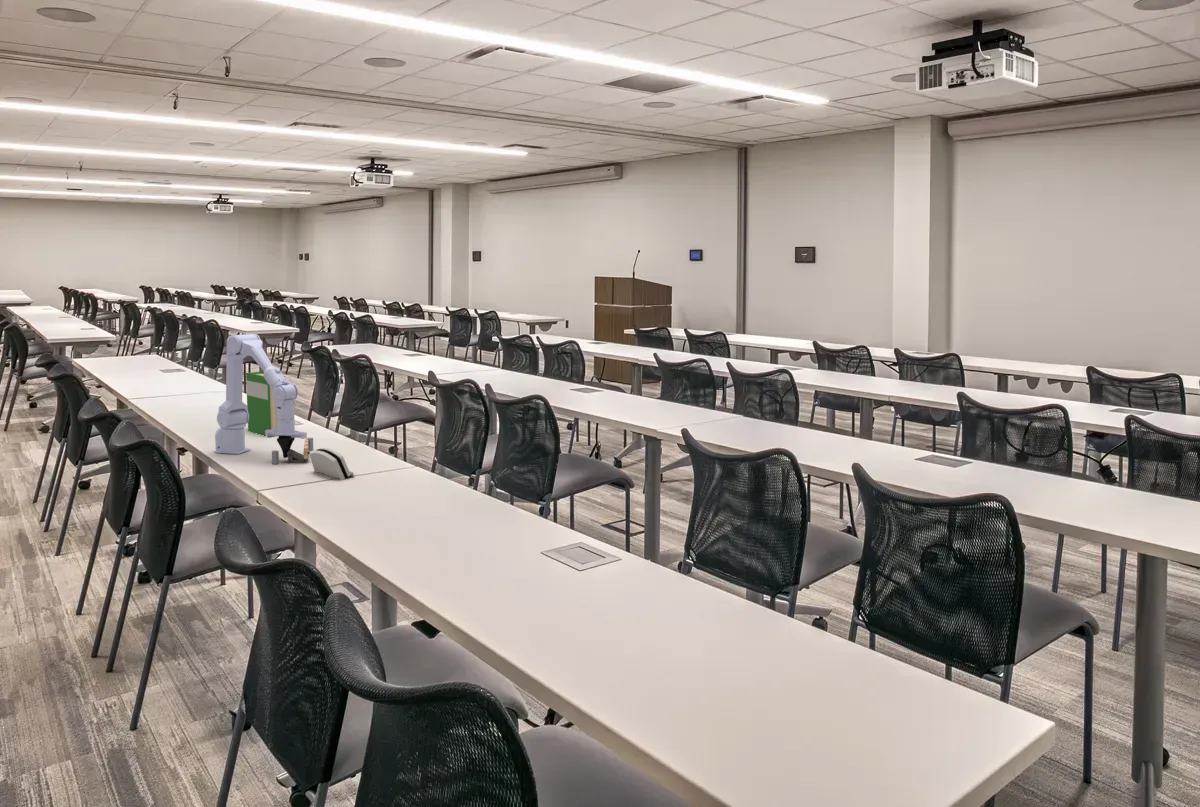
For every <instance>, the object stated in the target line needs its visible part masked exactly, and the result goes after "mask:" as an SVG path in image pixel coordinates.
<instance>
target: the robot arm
mask: <svg viewBox="0 0 1200 807" xmlns="http://www.w3.org/2000/svg"><path fill="white" fill-rule="evenodd" d="M263 343H264V342H263V340H261V337H260V336H259V334H257V333H251V334H250V333H247V334H246V333H245V334H232V335H230V336H229V337H228V338H227V339H226V366H225V367H226V368H225V369H226V373H225V374H226V375H225V377H226V378H225V380H226V382H225V385H226V386H225V401H224V402H222V404H221V405H220V406H218V412H217V415H216V422H217V424H218V426H219V427H218V428H216V430H215V435H214V437H215V440H214V441H215V444H214V445H215V450H214V453H217V454H231V455H233V454H234V455H239V454H243V453H246V452H248V451H250V450H251V448H248V447H246V437H245V436H246V435H245V428H246V427H247V425H248V421H249V413H248V406H247V403H245V402H243V378H244V377H243V375H244V371H243V369H244V359H245V358H246V357H251V358H252V359H253V360H254V361H255V363H256V364H257V365H258V366H259V367H260V368H261V370H262V372H264V375H263V376H264V378H265V380H266V381H267V383H268V384H269V385H270V387H271V388H272V390H273V393H272V395H273V398H274V400H275V405H276V406H277V430H265V436H271V437H278V438H276V442H277V443H278V445H279V446H280V449H281V451H282V456H283V459H288V455H287V452H288V451H289V450H290V449H292V446H293V443H294V441H295V439H296V438H297V439H304V440H305V439H306V438H308V434H307V433H308V432H306V431H300V430H295V428H296V427H295V400H296V399H297V398H298V396H299V391H298V388H297V386H296V384H295V383H293V382H292V383H291V381H289V380H287V378H286V376H285V375H284V374H283V372H282V371H281V369H280V368H279V367H277V366H274V365H273V364H272V362H271V361H270V359H269V357H268V355H267V354H266V351H265V350H264V348H263ZM284 376H285V377H284ZM265 436H264V437H265Z"/></svg>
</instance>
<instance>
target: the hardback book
mask: <svg viewBox="0 0 1200 807" xmlns="http://www.w3.org/2000/svg"><path fill="white" fill-rule="evenodd" d="M263 375H264V371H253V372H245V380H246V383H245V385H246V387H245V388H246V405H247V406H248V413H249V421H248V423H247V431H248V432H249V431H250V432H249V433H252V432H253V434H255V433H257V434H256V435H259V434H260V435H259V436H262V435H264V436H263V437H265V430H277V406H276V405H275V400H274V398H273V395H272V393H273V390H272V388H271V387H270V385H269V384H268V383H267V381H266V380H265V378H264V376H263ZM284 377H285V378H286V375H284ZM269 437H270V438H272V436H267V437H266V438H269Z"/></svg>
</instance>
